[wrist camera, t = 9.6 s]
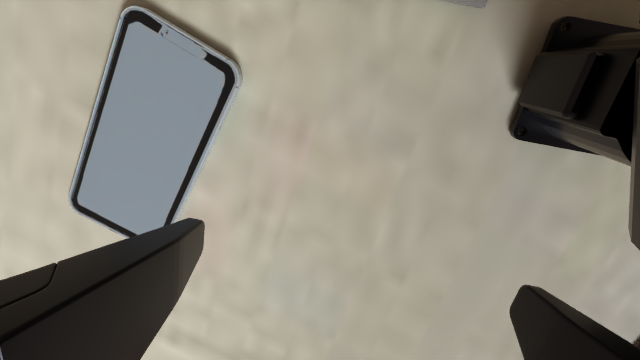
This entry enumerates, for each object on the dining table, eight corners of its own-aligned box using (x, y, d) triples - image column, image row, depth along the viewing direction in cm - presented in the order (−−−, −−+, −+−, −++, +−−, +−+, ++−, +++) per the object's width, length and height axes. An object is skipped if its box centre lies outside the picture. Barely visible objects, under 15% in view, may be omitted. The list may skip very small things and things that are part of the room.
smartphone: (64, 206, 23) (124, -3, 17) (75, 201, 24) (135, -1, 18) (160, 255, 24) (245, 70, 18) (167, 248, 25) (250, 69, 19)
